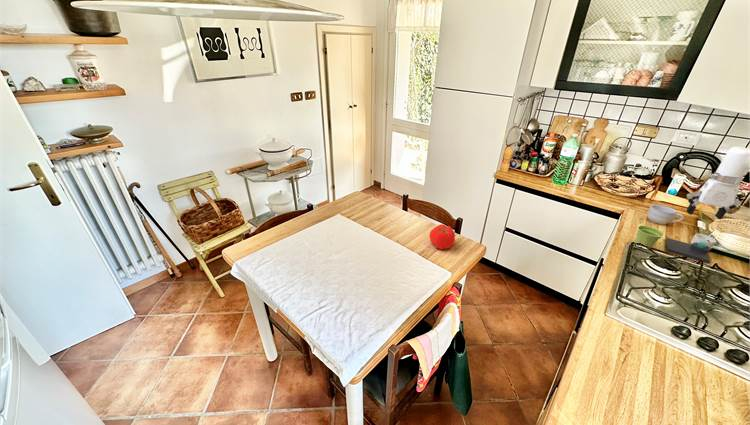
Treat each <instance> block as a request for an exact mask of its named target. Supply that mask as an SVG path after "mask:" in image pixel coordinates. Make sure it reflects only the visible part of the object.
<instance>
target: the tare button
mask: <svg viewBox="0 0 750 425" xmlns="http://www.w3.org/2000/svg"><path fill="white" fill-rule="evenodd" d="M697 246H698V247H700V248H704V249H705V248H706V247H707V244H705V243H702V242H699V243H698V244H697Z"/></svg>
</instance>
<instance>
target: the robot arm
mask: <svg viewBox="0 0 750 425" xmlns="http://www.w3.org/2000/svg"><path fill="white" fill-rule="evenodd" d="M748 170H750V148H748V147H743V146H733V147H731V148H729V149H728V150H727V152H726V154H725V156H724V157H723V159H722V160H721V162H720V163H719V166H718V167H717V169H716V170H715V171H714V173H710V174H709V175H708V176H709V179H707V181H706V182H705V183H704V184H703V185H702V186H701V187H700V189H699V190H698V191H694V192H690V193H687V194H686V200H687V201H688V203H689V204H688V206H687V208H686V213H687V214H688V215H691V216H692V215H693V214H694V213H695V210H696V209H697V206H699V205H700V204H701V205H705V206H706V205H707V206H713V207H719V208H718V210H717V211H716V213H715V215H714V216H715V218H717V219H718V220H722V219H723V218H724V217H725V215H726V213H727V212H730V211H731V210H733V209H736V208H737V207H738V206H740V205H742V201H741V200H739V199H737V196H738V193H739V191H740V188H741V184H740V182H741V180H742V179H743V177H744V175H745V174H746V172H748ZM694 197H695V198H694ZM693 198H694V199H693Z"/></svg>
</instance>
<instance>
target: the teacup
mask: <svg viewBox="0 0 750 425" xmlns="http://www.w3.org/2000/svg"><path fill="white" fill-rule="evenodd" d="M677 216H678V217H680V218H679V219H675V218H676V217H677ZM646 217H647V218H648V220H649V221H650V222H652V223H654V224H657V225H666V224H672V223H678V222H679V223H680V222H682V221H683V220H684V218H685V217H684V215H683V214H682V213H678V211H677V210H676V209H674V208H672V207H670V206H666V205H661V204H651V205H650V207H649V209H648V211H647V214H646Z"/></svg>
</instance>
